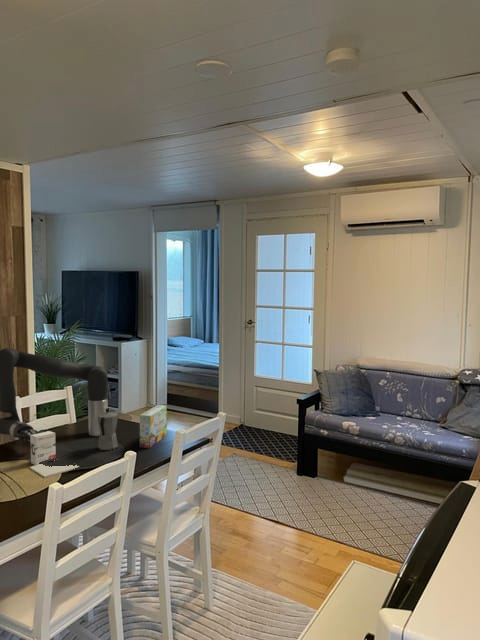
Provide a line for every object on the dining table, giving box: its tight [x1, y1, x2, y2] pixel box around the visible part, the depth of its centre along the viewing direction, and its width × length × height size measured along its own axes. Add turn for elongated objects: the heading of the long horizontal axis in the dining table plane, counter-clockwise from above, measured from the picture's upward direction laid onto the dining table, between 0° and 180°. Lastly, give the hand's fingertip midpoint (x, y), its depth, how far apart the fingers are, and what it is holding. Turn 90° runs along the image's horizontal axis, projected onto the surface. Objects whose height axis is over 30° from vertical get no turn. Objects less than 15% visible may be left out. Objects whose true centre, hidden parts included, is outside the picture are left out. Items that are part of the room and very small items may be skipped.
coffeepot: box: [97, 408, 119, 449], centre depth 209 cm, size 15×9×18 cm, turn 179°
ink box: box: [29, 430, 57, 466], centre depth 193 cm, size 8×5×12 cm, turn 140°
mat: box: [29, 464, 80, 478], centre depth 186 cm, size 14×14×1 cm
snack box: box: [139, 404, 168, 449], centre depth 220 cm, size 21×6×15 cm, turn 168°
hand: (37, 439), depth 196 cm, fingers closed
